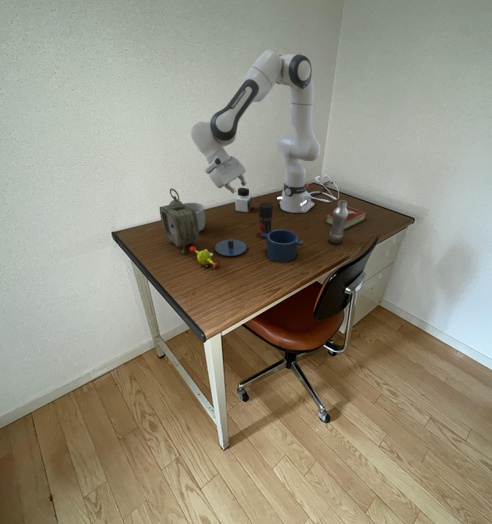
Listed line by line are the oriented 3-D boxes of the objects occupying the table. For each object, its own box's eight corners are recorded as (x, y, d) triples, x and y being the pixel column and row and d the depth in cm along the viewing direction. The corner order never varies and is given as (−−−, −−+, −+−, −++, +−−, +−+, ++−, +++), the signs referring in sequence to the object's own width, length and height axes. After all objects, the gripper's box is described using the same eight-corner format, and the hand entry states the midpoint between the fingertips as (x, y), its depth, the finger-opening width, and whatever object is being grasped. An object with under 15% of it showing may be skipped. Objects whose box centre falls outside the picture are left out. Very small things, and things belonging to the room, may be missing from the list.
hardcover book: (325, 222, 143) (326, 214, 141) (346, 212, 156) (348, 205, 154) (343, 230, 137) (345, 223, 135) (364, 219, 150) (366, 212, 147)
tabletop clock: (166, 242, 115) (154, 185, 101) (185, 236, 121) (177, 181, 107) (182, 257, 107) (171, 197, 93) (202, 249, 112) (195, 192, 98)
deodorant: (273, 237, 126) (274, 207, 118) (261, 238, 124) (261, 208, 116) (269, 231, 130) (270, 202, 122) (257, 232, 128) (257, 203, 120)
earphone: (331, 199, 161) (316, 174, 162) (315, 213, 174) (301, 190, 175) (344, 195, 169) (329, 171, 170) (327, 208, 182) (314, 186, 183)
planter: (193, 221, 134) (190, 200, 127) (211, 228, 129) (209, 207, 123) (173, 230, 125) (169, 208, 118) (192, 238, 120) (188, 215, 114)
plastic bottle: (325, 239, 128) (332, 199, 116) (337, 237, 130) (345, 198, 119) (331, 246, 123) (339, 205, 112) (344, 244, 125) (353, 204, 114)
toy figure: (226, 273, 100) (225, 258, 97) (213, 279, 97) (212, 264, 93) (198, 253, 110) (196, 239, 106) (186, 258, 106) (184, 244, 102)
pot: (266, 242, 121) (267, 226, 116) (304, 251, 117) (306, 234, 113) (256, 256, 111) (256, 238, 106) (297, 266, 107) (299, 248, 103)
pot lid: (224, 239, 121) (223, 230, 119) (251, 245, 118) (251, 236, 116) (209, 253, 111) (208, 244, 108) (238, 260, 108) (238, 250, 105)
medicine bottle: (247, 212, 146) (247, 191, 140) (235, 210, 147) (234, 189, 141) (251, 207, 152) (251, 187, 146) (239, 206, 153) (239, 185, 146)
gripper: (228, 158, 124) (246, 184, 128) (202, 171, 109) (223, 200, 113) (237, 151, 120) (255, 177, 124) (211, 163, 105) (232, 193, 109)
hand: (240, 188), depth 118 cm, fingers open, 8 cm apart
